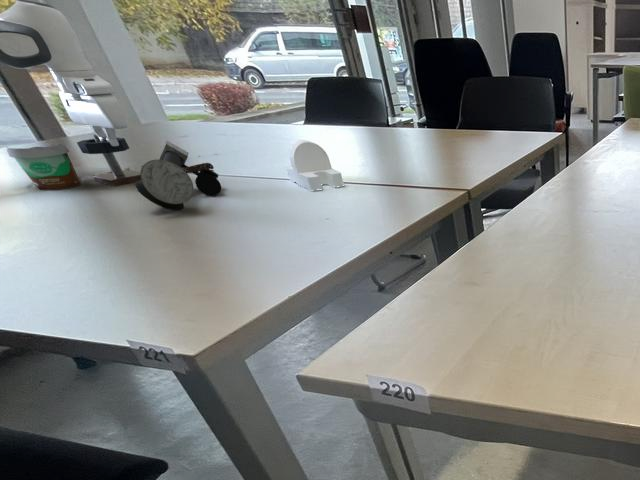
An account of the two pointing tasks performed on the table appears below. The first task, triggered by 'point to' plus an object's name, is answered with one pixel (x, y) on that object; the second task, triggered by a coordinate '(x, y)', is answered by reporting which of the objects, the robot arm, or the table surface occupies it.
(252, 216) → the table surface
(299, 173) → the white round-backed notched block
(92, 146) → the ring
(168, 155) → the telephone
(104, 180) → the peg stand
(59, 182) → the food container
